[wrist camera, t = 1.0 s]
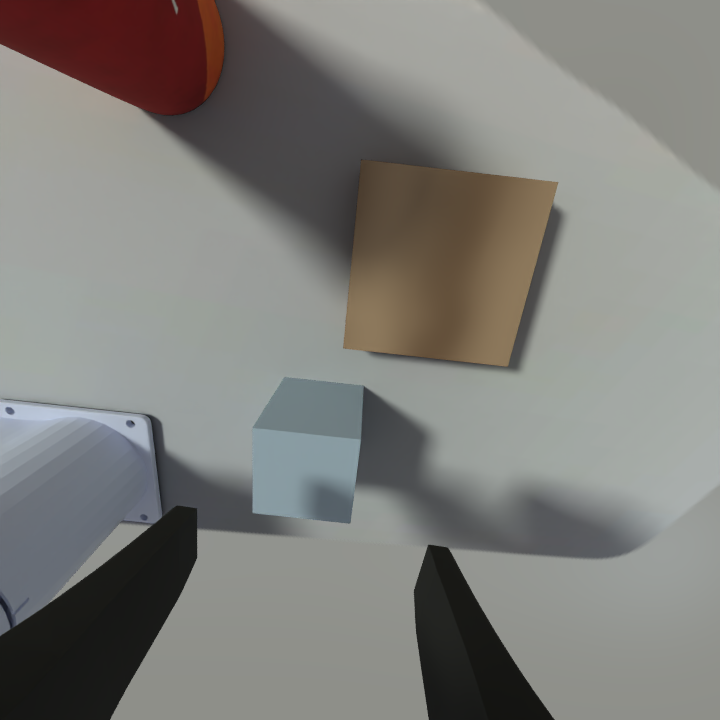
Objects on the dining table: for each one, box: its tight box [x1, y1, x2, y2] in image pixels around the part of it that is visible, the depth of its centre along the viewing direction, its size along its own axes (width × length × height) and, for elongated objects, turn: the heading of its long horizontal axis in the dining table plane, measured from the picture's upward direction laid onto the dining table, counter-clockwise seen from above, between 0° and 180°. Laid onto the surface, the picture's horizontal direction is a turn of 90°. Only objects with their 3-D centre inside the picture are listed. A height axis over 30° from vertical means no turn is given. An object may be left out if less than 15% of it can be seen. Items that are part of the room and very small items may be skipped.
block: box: [253, 377, 364, 523], centre depth 17 cm, size 4×4×6 cm
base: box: [343, 160, 558, 367], centre depth 16 cm, size 8×8×2 cm
